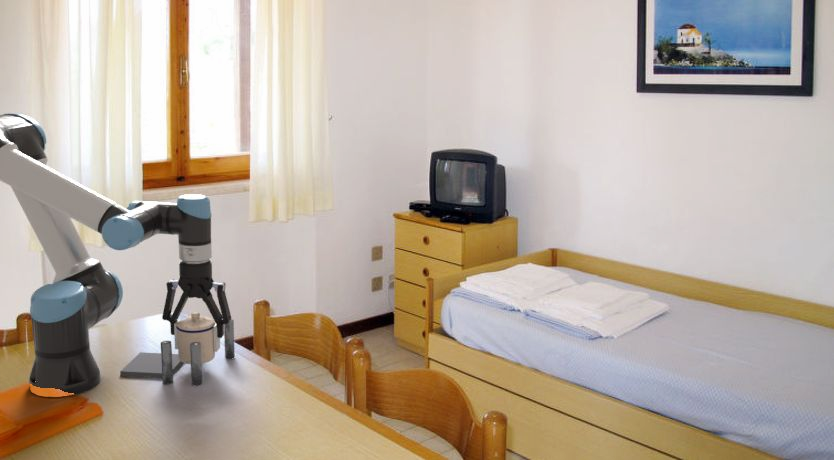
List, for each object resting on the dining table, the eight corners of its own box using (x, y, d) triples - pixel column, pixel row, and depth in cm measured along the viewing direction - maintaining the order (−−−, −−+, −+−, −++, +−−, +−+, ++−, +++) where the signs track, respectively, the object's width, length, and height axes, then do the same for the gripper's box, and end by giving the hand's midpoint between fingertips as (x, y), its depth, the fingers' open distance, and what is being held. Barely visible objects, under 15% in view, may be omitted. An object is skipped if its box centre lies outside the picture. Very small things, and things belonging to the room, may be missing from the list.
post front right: (190, 385, 185) (188, 345, 182) (193, 381, 187) (192, 341, 185) (200, 386, 184) (198, 346, 182) (203, 381, 187) (202, 342, 184)
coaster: (120, 375, 189) (120, 371, 189) (140, 356, 201) (140, 352, 200) (169, 378, 188) (169, 373, 188) (186, 359, 200) (186, 354, 200)
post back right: (223, 359, 200) (222, 322, 198) (226, 355, 203) (225, 318, 200) (233, 359, 200) (232, 322, 198) (235, 356, 203) (234, 319, 200)
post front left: (161, 384, 185) (158, 344, 183) (164, 379, 187) (162, 340, 185) (171, 384, 185) (169, 344, 183) (174, 380, 187) (172, 340, 185)
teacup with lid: (223, 358, 193) (222, 313, 190) (191, 368, 186) (189, 322, 183) (195, 344, 200) (194, 301, 198) (163, 354, 194) (161, 309, 191)
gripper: (144, 261, 184) (148, 351, 189) (235, 266, 183) (236, 356, 188) (157, 253, 192) (160, 340, 197) (244, 258, 190) (245, 345, 196)
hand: (197, 348), depth 193 cm, fingers closed on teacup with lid, 9 cm apart
